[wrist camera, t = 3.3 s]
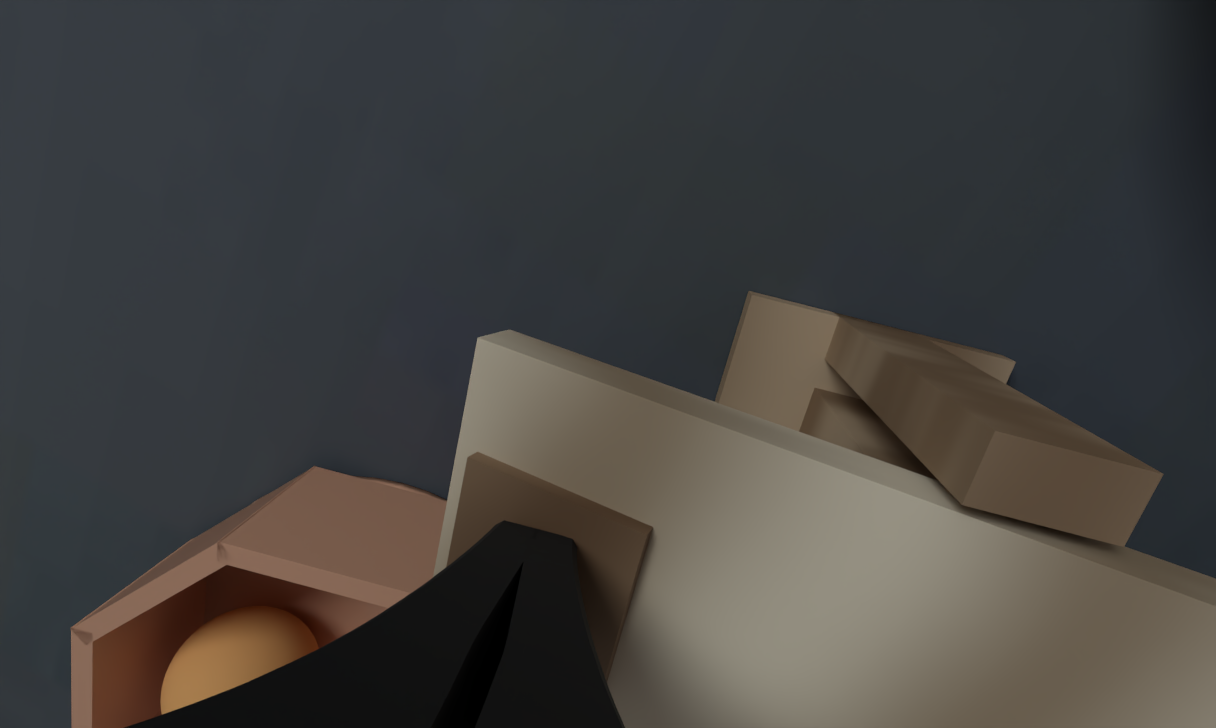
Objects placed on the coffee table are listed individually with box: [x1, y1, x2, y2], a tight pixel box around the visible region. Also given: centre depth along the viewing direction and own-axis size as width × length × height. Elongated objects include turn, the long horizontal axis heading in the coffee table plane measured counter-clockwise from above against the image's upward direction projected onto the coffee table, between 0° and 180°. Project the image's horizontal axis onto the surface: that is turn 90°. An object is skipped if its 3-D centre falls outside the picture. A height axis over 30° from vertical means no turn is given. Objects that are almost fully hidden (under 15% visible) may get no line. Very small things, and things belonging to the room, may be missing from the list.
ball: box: [161, 606, 319, 714], centre depth 16 cm, size 4×4×4 cm
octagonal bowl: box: [71, 466, 447, 728], centre depth 16 cm, size 11×11×4 cm
